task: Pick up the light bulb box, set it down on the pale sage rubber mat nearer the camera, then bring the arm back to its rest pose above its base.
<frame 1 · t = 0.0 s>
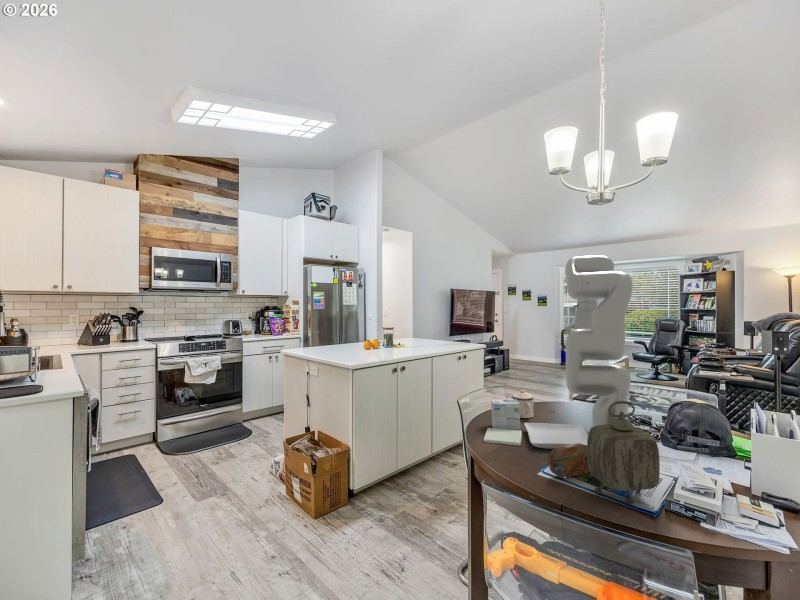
hand: (588, 347, 156), 31 cm above the table, tool pointing down, fingers open, 9 cm apart
tin: (571, 474, 111), on the table, touching arm
light bulb box: (505, 428, 153), on the table
sage mat: (503, 437, 142), on the table
teacup with lid: (524, 417, 166), on the table
salad plate: (557, 442, 137), on the table
tabletop clock: (624, 499, 97), on the table
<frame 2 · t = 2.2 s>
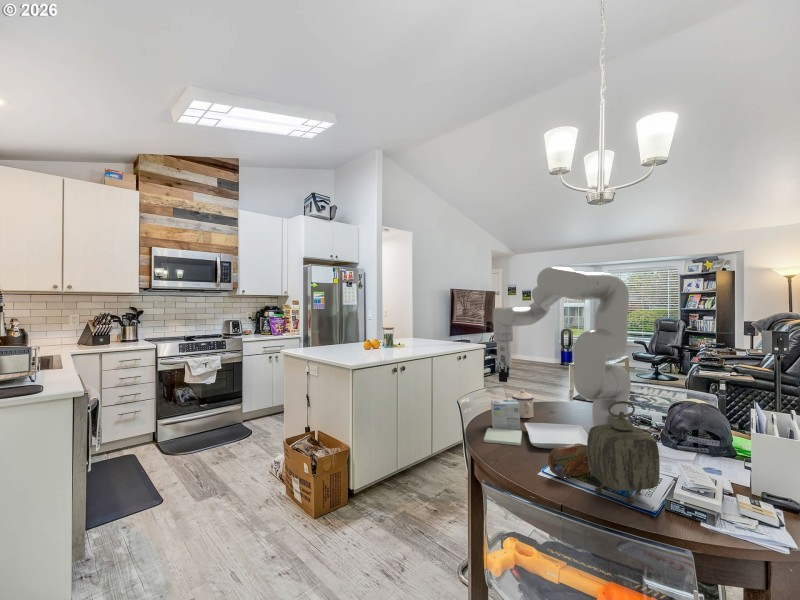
hand: (504, 379, 153), 20 cm above the table, tool pointing down, fingers open, 9 cm apart
nothing on the table moved.
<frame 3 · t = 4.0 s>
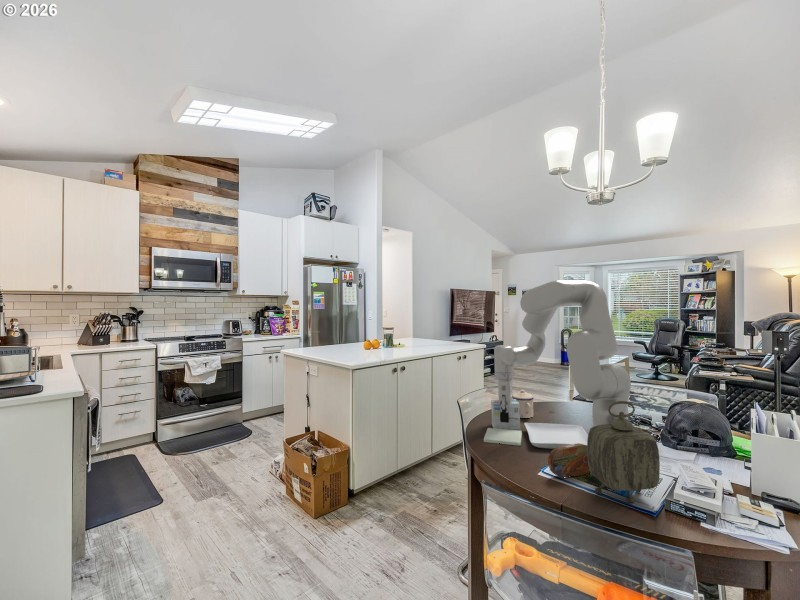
hand: (505, 418, 153), 4 cm above the table, tool pointing down, fingers closed on light bulb box, 7 cm apart
light bulb box: (505, 427, 153), on the table, touching gripper
everything else where it was.
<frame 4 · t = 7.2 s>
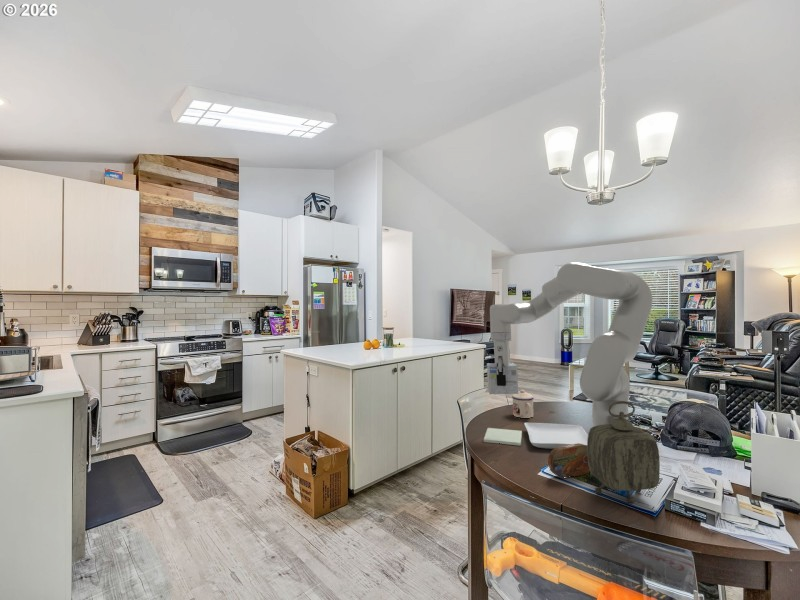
hand: (502, 383, 142), 21 cm above the table, tool pointing down, fingers closed on light bulb box, 7 cm apart
light bulb box: (502, 393, 142), point 17 cm above the table, touching gripper
everything else where it was.
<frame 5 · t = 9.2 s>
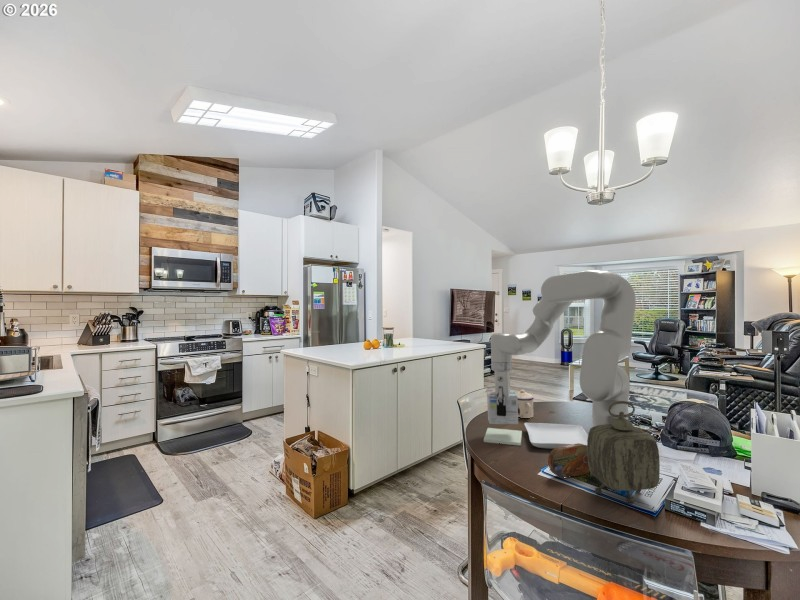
hand: (502, 412, 142), 10 cm above the table, tool pointing down, fingers closed on light bulb box, 7 cm apart
light bulb box: (502, 422, 142), point 6 cm above the table, touching gripper
everything else where it was.
when the fingers open (6 cm above the table, at t = 10.6 s): light bulb box drops 1 cm, resting on sage mat.
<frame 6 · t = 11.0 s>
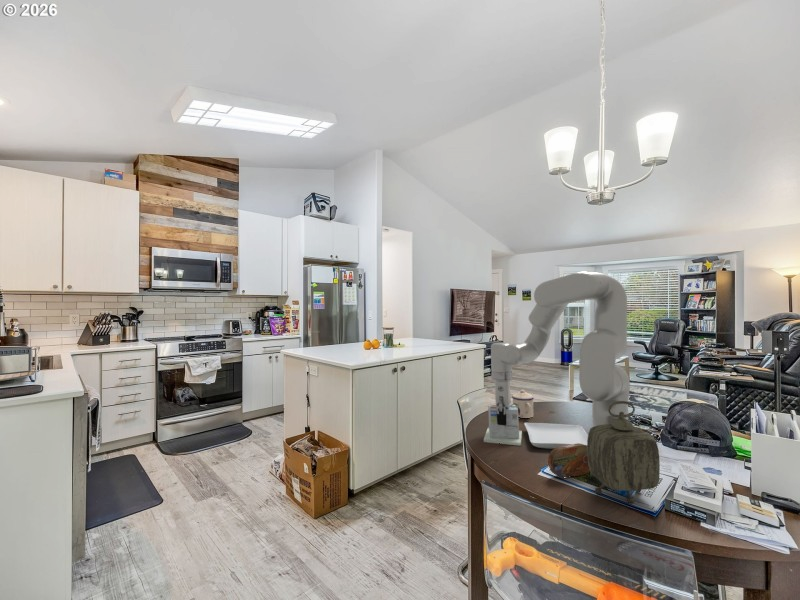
hand: (502, 420, 142), 6 cm above the table, tool pointing down, fingers open, 9 cm apart
light bulb box: (503, 435, 141), point 1 cm above the table, touching sage mat
everything else where it was.
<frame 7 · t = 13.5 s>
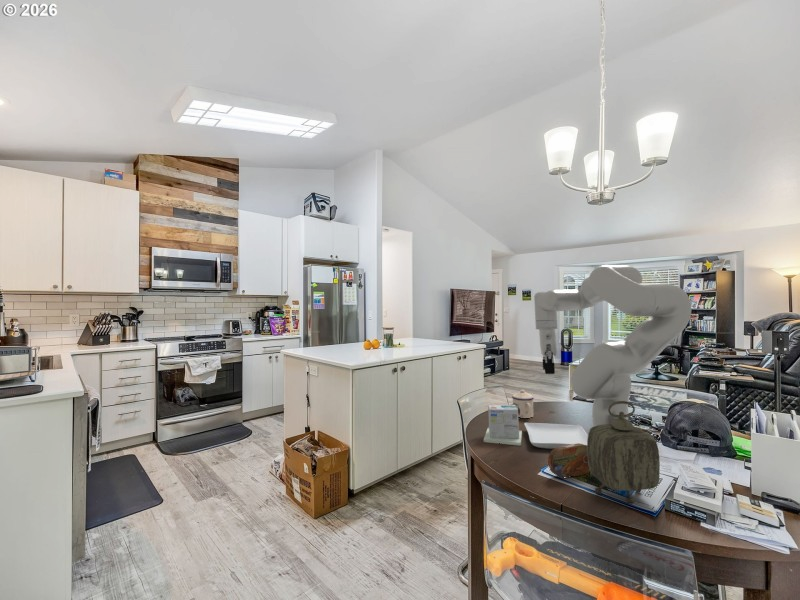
hand: (548, 371, 138), 25 cm above the table, tool pointing down, fingers open, 9 cm apart
nothing on the table moved.
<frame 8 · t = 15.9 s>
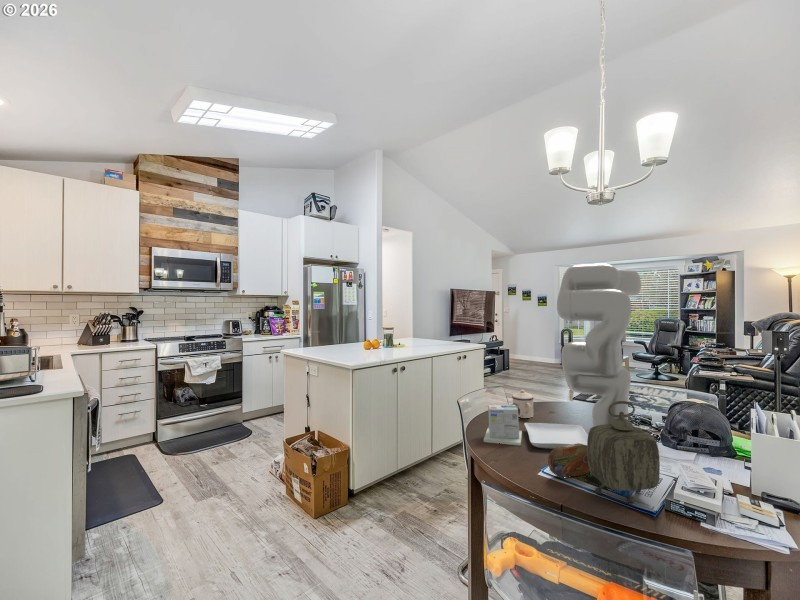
hand: (614, 357, 134), 30 cm above the table, tool pointing down, fingers open, 9 cm apart
nothing on the table moved.
at the end: light bulb box inside the target area on the sage mat (0.4 cm from its centre), point 0.8 cm above the sage mat's base; light bulb box tilted 0°; the gripper is holding nothing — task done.
